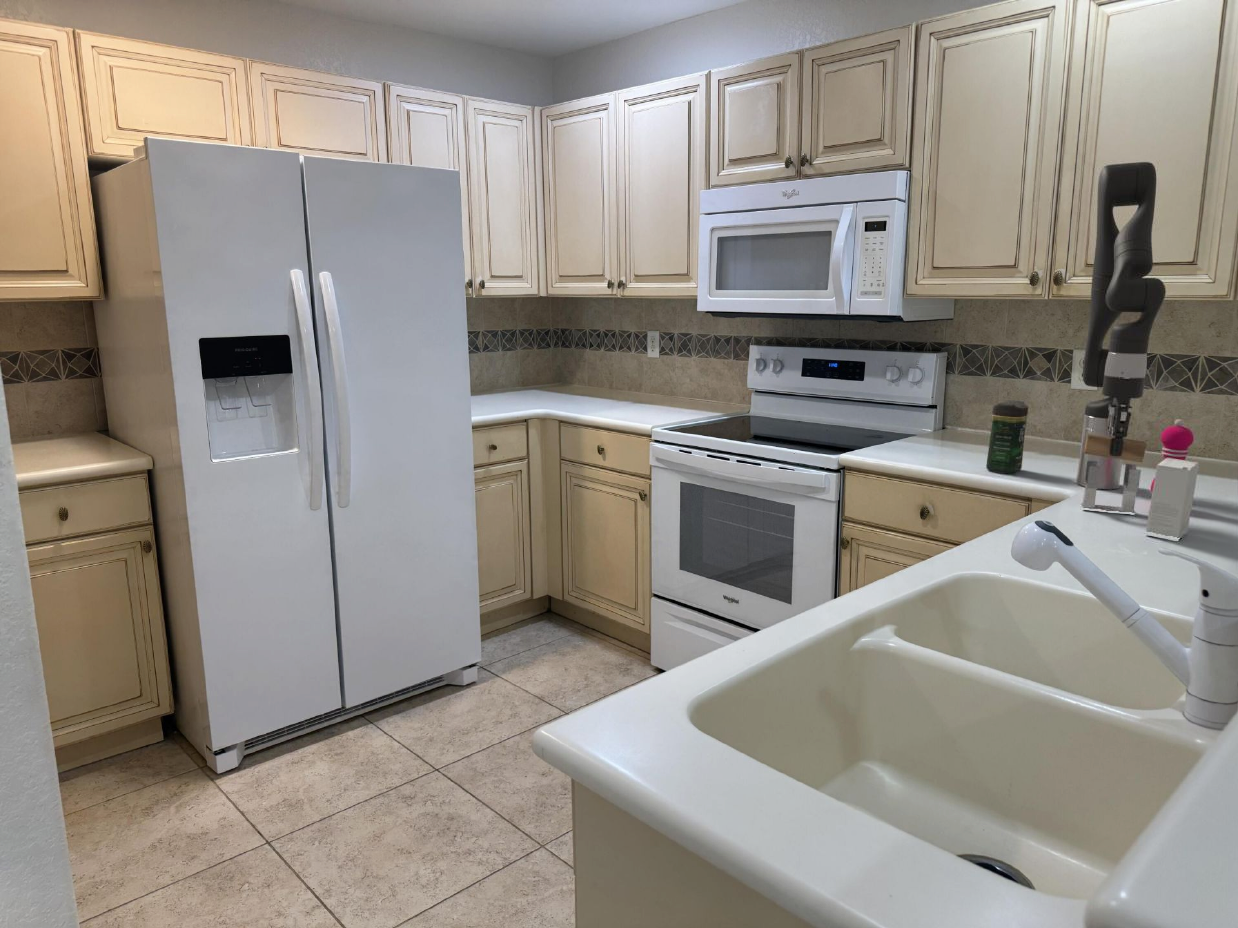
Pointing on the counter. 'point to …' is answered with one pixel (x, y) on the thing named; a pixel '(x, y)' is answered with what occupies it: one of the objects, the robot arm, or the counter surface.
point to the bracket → (1129, 485)
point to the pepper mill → (1176, 442)
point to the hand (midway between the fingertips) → (1114, 453)
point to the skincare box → (1172, 497)
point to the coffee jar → (1007, 437)
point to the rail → (1102, 444)
